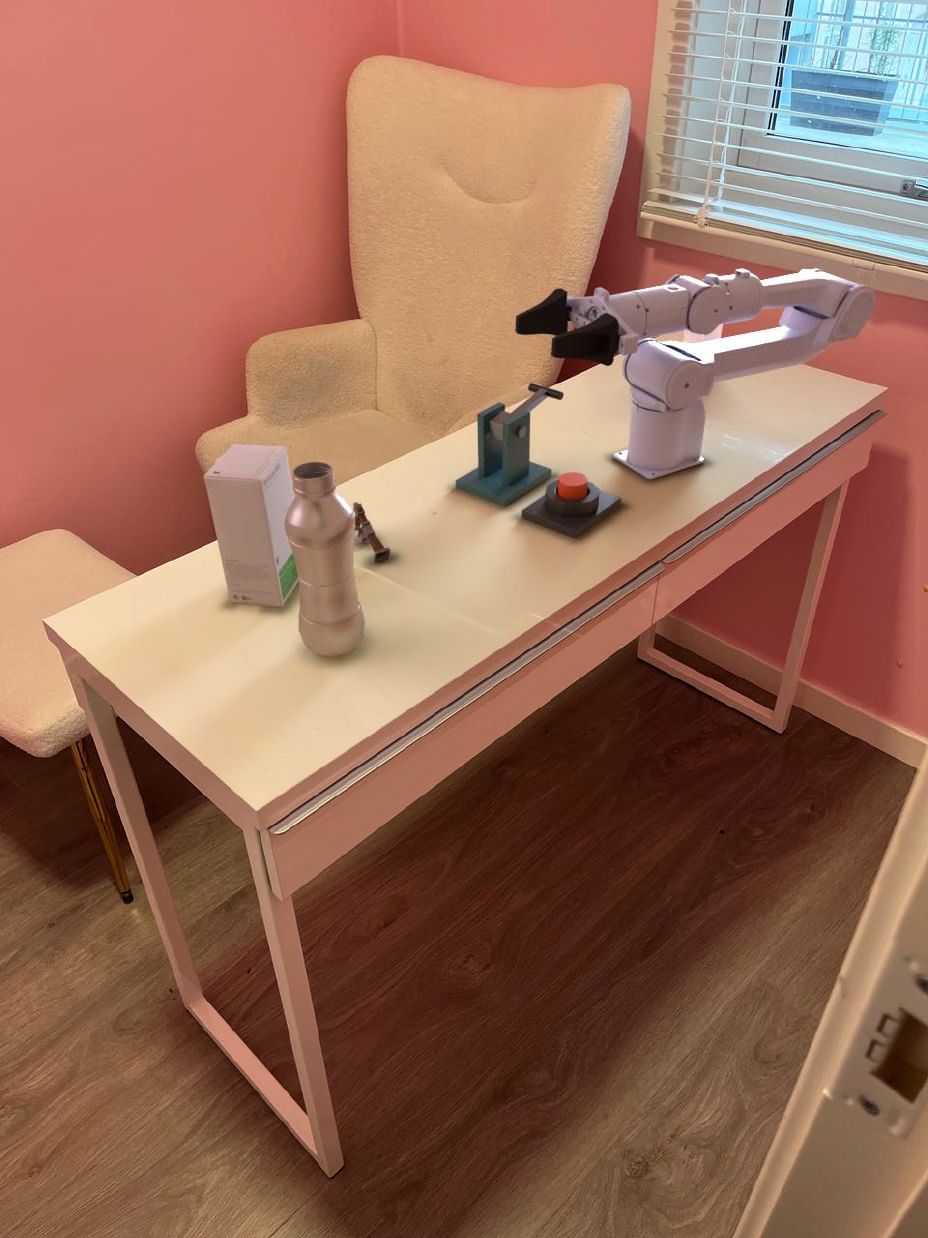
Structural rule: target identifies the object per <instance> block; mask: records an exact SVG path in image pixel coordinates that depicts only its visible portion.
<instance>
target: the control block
mask: <svg viewBox="0 0 928 1238" xmlns="http://www.w3.org/2000/svg"><path fill="white" fill-rule="evenodd" d="M621 506H622V497H620V496H618V495H615V494H612V493H610V492H606V491H603V490H601V489H600V488H599V487H598V486H597V485H596V484H595V483H594V482H592V481H589V480H588V491H587V496H586V497H585V498H581V499H577V500H574V499H565V498H562V497H559V495H558V479H556V480H554V481H553V482H551V483H550V484H548V485H547V486H546V488H545V493H544V495H542V496H541V497H539V498H538V499H536V500H535V501H534V502H532V503H530V504H529V505H527V506H526V507H525V508H523V509H522V510H521V519H523V520H525V521H527V522H530V523H533V524H535V525H538V526H540V527H543V528H545V529H548V530H551V531H554V532H556V533H559V534H561V535H563V536H566V537H569V538H571V539H575V540H577V538H579V537H580V536H582V535H583V534H584V533H586V532H587V531H589V530H590V529H591V528H593V527H594V526H596V524H598V523H600V522H601V521H602V520H604V519H606V518H607V517H608V516H609V515H610V514H612V513H613V512H614V511H616V510H617V509H618V508H620V507H621Z"/></svg>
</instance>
